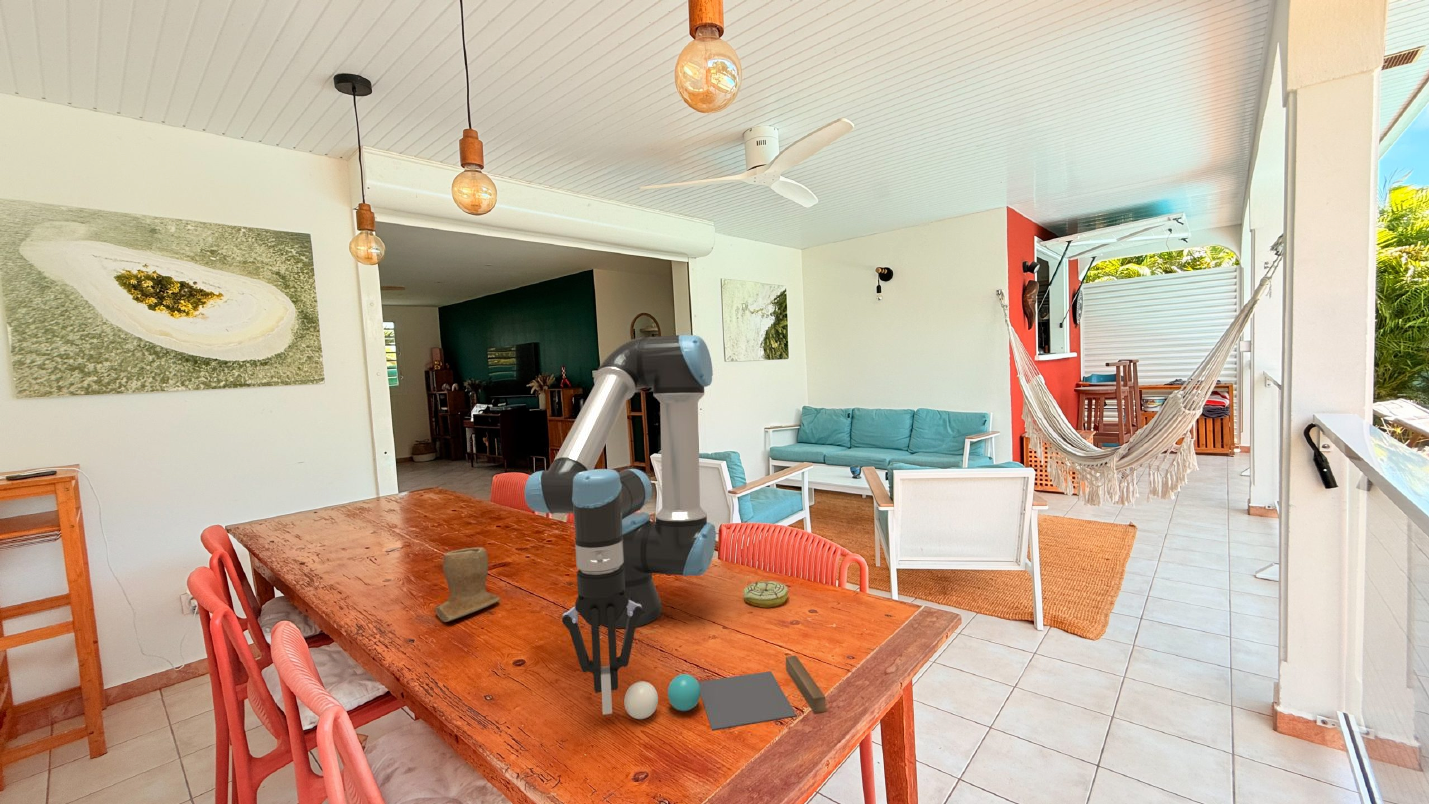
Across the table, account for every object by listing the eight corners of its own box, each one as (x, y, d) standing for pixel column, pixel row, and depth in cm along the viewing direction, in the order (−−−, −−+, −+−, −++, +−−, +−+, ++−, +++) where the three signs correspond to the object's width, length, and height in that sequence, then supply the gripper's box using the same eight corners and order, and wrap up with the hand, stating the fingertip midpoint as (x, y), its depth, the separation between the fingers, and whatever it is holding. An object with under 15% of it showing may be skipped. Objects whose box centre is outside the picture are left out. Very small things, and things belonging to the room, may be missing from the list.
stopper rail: (814, 713, 92) (813, 698, 92) (786, 669, 106) (785, 656, 106) (825, 711, 93) (825, 696, 93) (796, 668, 106) (795, 655, 106)
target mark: (712, 730, 89) (712, 729, 89) (696, 683, 103) (696, 682, 103) (796, 716, 92) (796, 715, 92) (770, 672, 105) (770, 671, 105)
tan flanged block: (478, 595, 148) (475, 539, 148) (506, 604, 142) (503, 545, 141) (421, 617, 136) (417, 555, 135) (449, 628, 129) (445, 563, 128)
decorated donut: (750, 591, 145) (749, 576, 145) (791, 595, 142) (791, 580, 142) (738, 607, 135) (738, 591, 135) (783, 612, 132) (782, 596, 132)
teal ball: (656, 698, 93) (674, 669, 94) (668, 692, 98) (686, 664, 99) (681, 722, 91) (700, 692, 91) (693, 714, 96) (710, 686, 96)
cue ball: (655, 677, 92) (669, 706, 93) (638, 671, 97) (651, 698, 97) (629, 701, 89) (644, 730, 90) (612, 694, 93) (626, 722, 94)
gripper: (557, 579, 86) (564, 729, 87) (643, 570, 89) (649, 716, 90) (560, 563, 93) (567, 702, 95) (639, 555, 96) (645, 690, 97)
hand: (607, 708), depth 92 cm, fingers closed
